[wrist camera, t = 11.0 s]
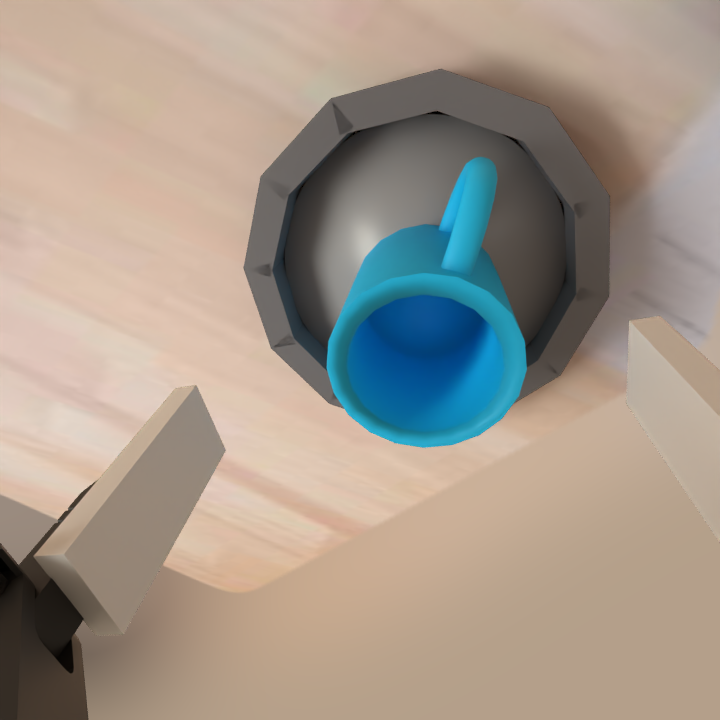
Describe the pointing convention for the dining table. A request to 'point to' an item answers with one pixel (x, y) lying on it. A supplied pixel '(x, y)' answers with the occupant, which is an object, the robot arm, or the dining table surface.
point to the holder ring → (428, 214)
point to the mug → (430, 329)
